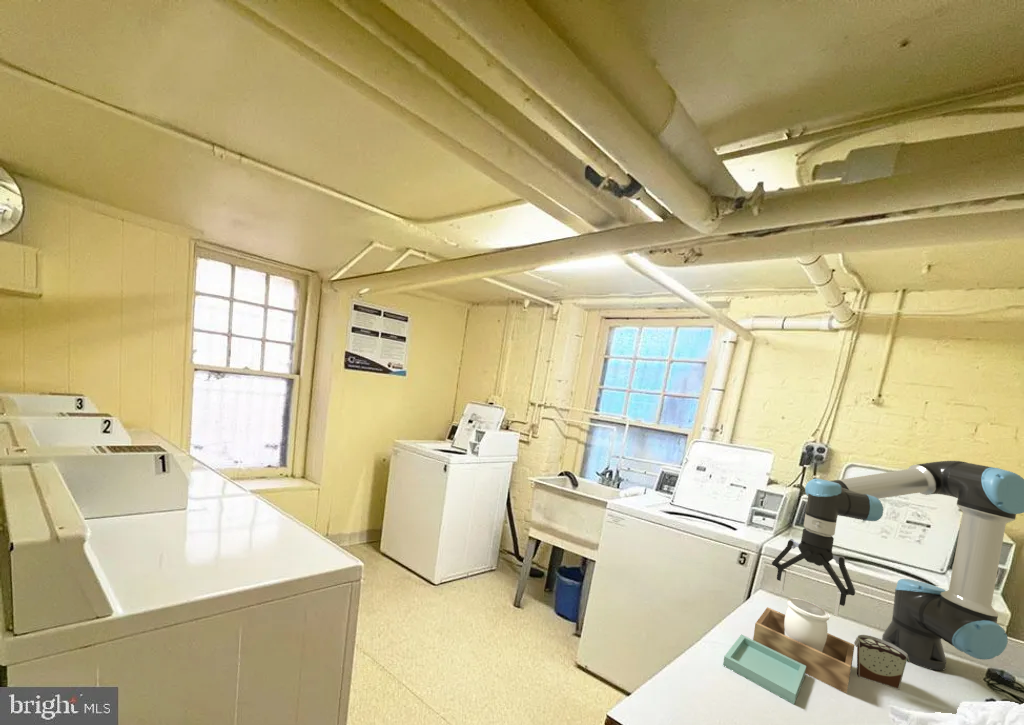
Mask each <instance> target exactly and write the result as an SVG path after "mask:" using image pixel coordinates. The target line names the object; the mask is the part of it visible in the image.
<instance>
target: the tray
mask: <svg viewBox="0 0 1024 725" xmlns="http://www.w3.org/2000/svg"><path fill="white" fill-rule="evenodd" d="M723 665H724V666H723ZM722 666H723V667H725V666H726V667H725V668H727V669H728V668H729V669H728V670H730V669H731V670H730V671H732V670H733V671H732V672H734V671H735V672H734V673H736V674H738V675H739V676H741V677H743V678H745V679H747V680H748V681H751V682H752V683H754V684H755V685H757V686H759V687H762V688H763V689H765V690H766V691H769V692H770V693H772V694H773V695H776V696H777V697H780V698H782V699H783V700H785V701H787V702H788V703H791V704H793V705H795V704H796V701H797V699H798V695H799V693H800V690H801V687H802V684H803V682H804V679H805V676H806V666H805V665H803V664H801V663H799V662H797V661H795V660H793V659H791V658H789V657H787V656H785V655H783V654H781V653H779V652H777V651H774V650H772V649H770V648H768V647H766V646H764V645H762V644H760V643H758V642H756V641H754V640H753V638H750V637H747V636H745V635H744V634H740V635H739V637H738V638H737V639H736V640H735V642H734V643H733V645H732V646H731V647H730V648H729V649H728V651H727V652H726V653H725V655H724V658H723V663H722Z"/></svg>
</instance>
